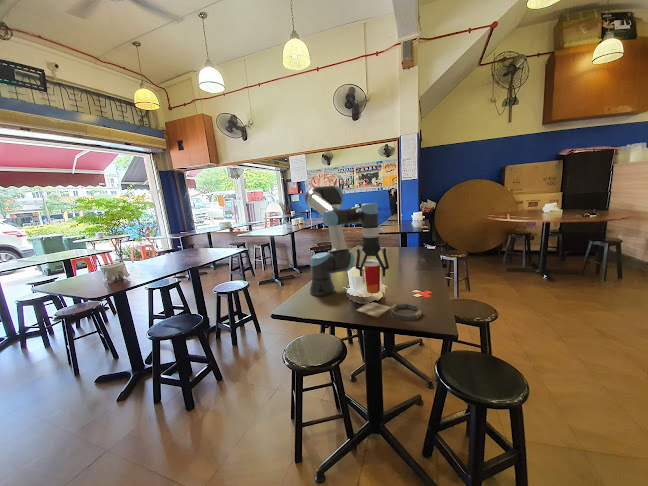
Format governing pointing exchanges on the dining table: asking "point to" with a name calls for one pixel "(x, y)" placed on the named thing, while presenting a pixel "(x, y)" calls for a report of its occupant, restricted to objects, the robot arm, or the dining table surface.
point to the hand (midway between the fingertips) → (372, 282)
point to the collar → (405, 317)
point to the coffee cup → (372, 275)
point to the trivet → (373, 309)
